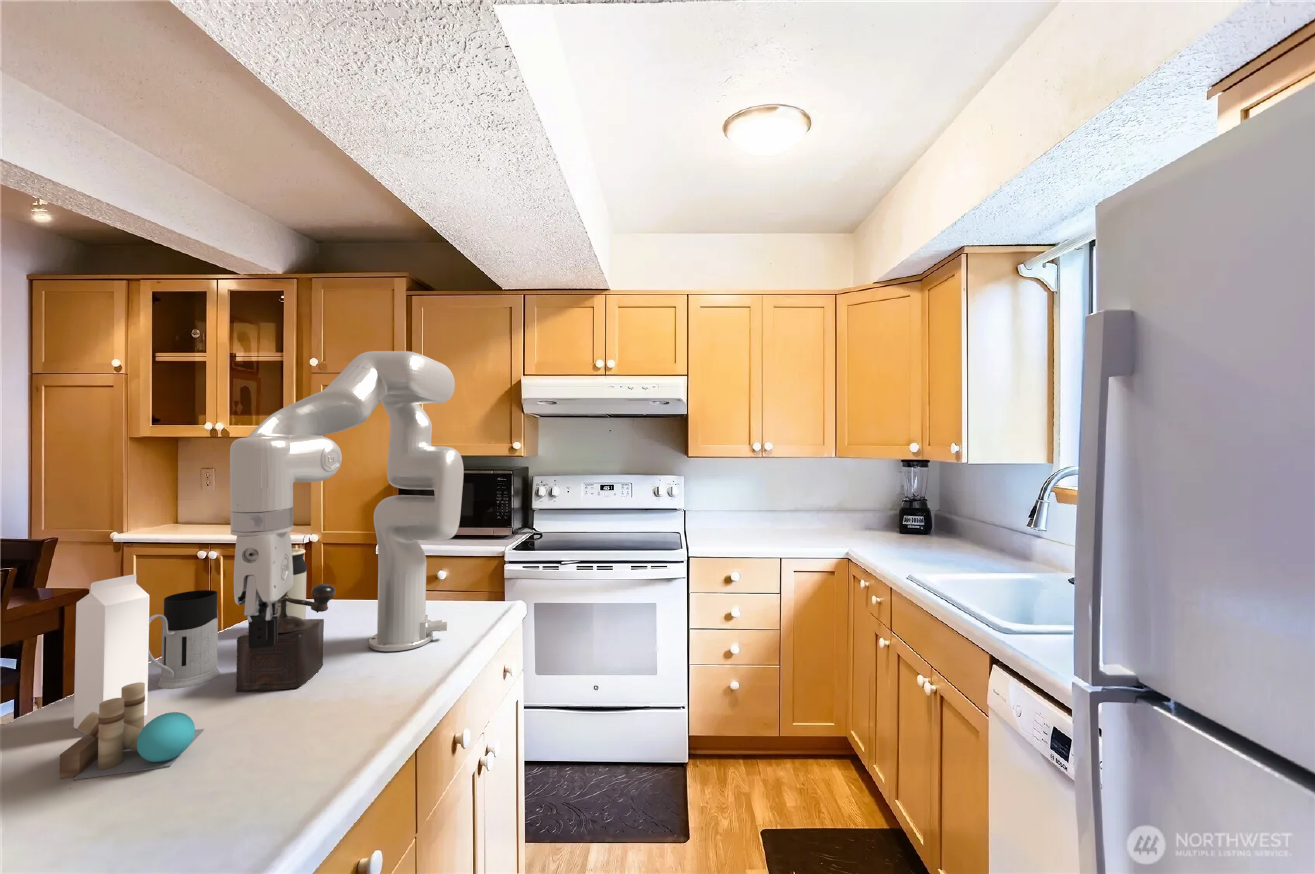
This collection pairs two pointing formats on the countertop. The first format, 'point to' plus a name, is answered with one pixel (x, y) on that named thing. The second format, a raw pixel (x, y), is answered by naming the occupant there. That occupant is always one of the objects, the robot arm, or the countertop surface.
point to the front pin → (92, 729)
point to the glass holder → (188, 639)
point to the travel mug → (297, 586)
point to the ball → (165, 737)
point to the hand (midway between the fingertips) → (263, 645)
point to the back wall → (78, 756)
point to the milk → (110, 643)
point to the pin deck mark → (129, 764)
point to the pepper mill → (285, 649)
